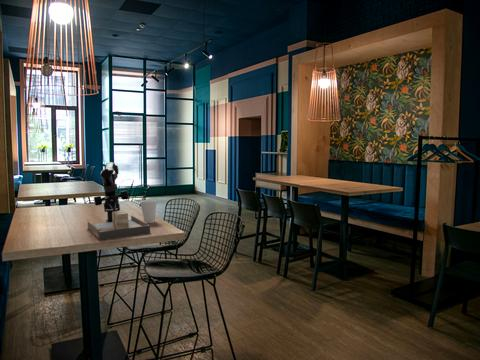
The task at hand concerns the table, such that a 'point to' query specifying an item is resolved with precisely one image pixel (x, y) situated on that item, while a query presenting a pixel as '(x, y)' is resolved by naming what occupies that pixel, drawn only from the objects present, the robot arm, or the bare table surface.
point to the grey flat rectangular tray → (109, 232)
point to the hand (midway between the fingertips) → (114, 210)
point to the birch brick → (120, 220)
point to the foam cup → (148, 210)
